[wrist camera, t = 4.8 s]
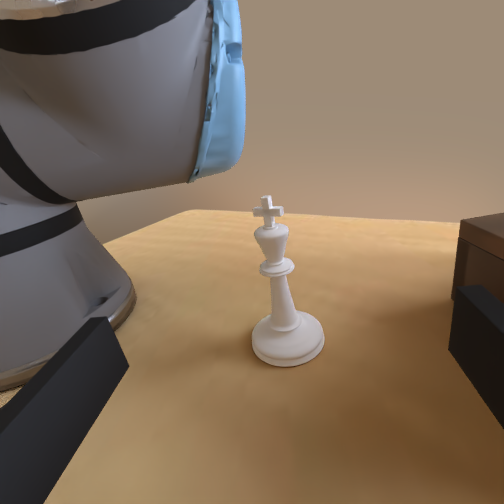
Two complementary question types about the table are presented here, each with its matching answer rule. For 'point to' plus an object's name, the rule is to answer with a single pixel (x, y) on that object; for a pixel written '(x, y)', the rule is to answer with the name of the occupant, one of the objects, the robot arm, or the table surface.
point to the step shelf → (481, 254)
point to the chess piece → (282, 301)
